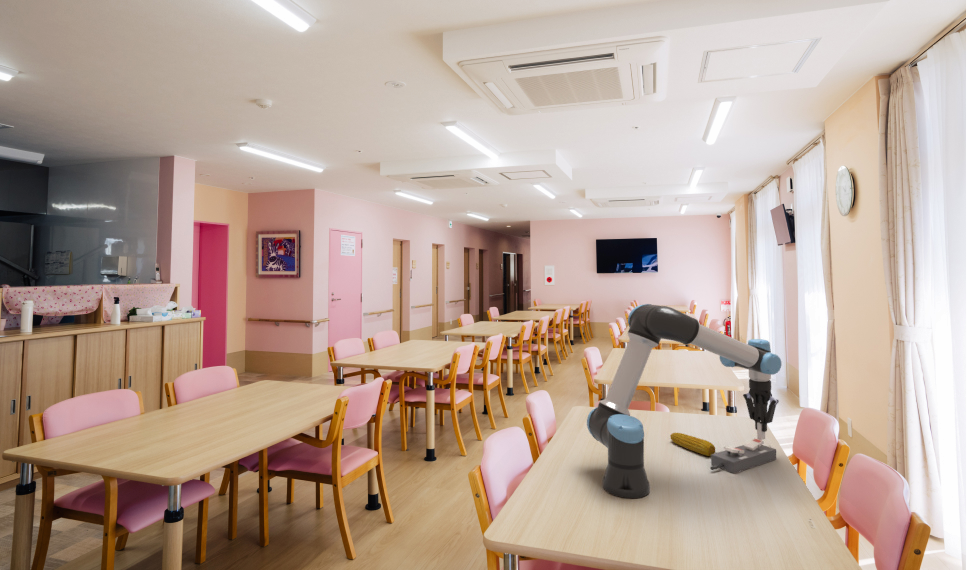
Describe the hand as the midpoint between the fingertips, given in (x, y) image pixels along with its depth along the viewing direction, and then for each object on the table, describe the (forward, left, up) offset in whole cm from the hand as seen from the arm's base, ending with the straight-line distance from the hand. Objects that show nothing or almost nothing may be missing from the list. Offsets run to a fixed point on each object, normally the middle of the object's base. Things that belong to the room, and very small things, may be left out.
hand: (761, 438), depth 185 cm
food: (-17, +19, -8) cm, 26 cm away
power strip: (-14, 0, -7) cm, 15 cm away
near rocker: (-17, 0, -1) cm, 17 cm away
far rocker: (-5, 0, -1) cm, 5 cm away
